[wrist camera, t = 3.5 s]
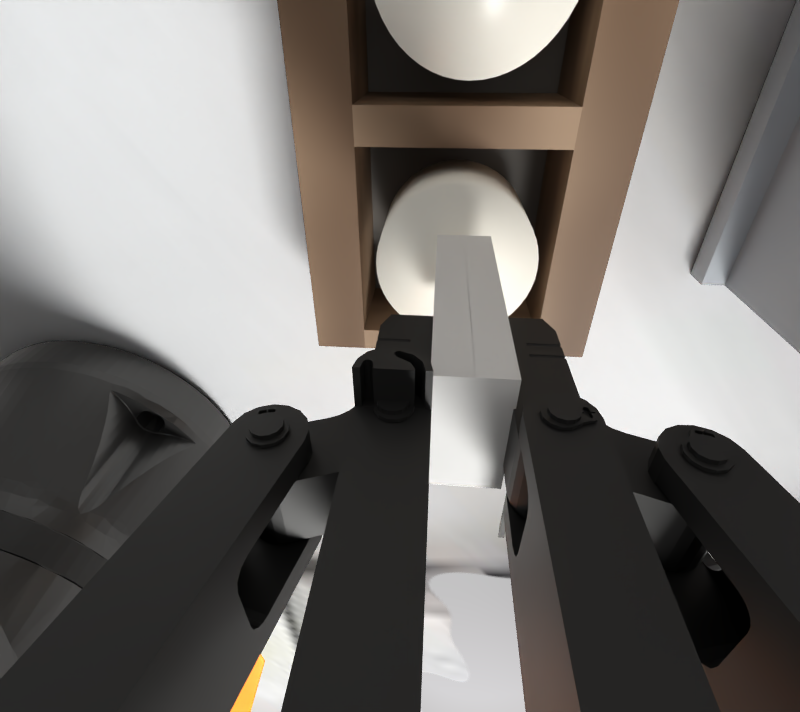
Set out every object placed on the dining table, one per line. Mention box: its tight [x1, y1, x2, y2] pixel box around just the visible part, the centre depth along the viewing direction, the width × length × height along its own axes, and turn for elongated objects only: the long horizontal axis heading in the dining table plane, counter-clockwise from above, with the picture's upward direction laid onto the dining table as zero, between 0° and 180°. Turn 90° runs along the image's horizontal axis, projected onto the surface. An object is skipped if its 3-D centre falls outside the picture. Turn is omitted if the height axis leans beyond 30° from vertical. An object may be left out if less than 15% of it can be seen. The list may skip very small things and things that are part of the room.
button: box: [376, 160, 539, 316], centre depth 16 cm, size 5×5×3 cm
